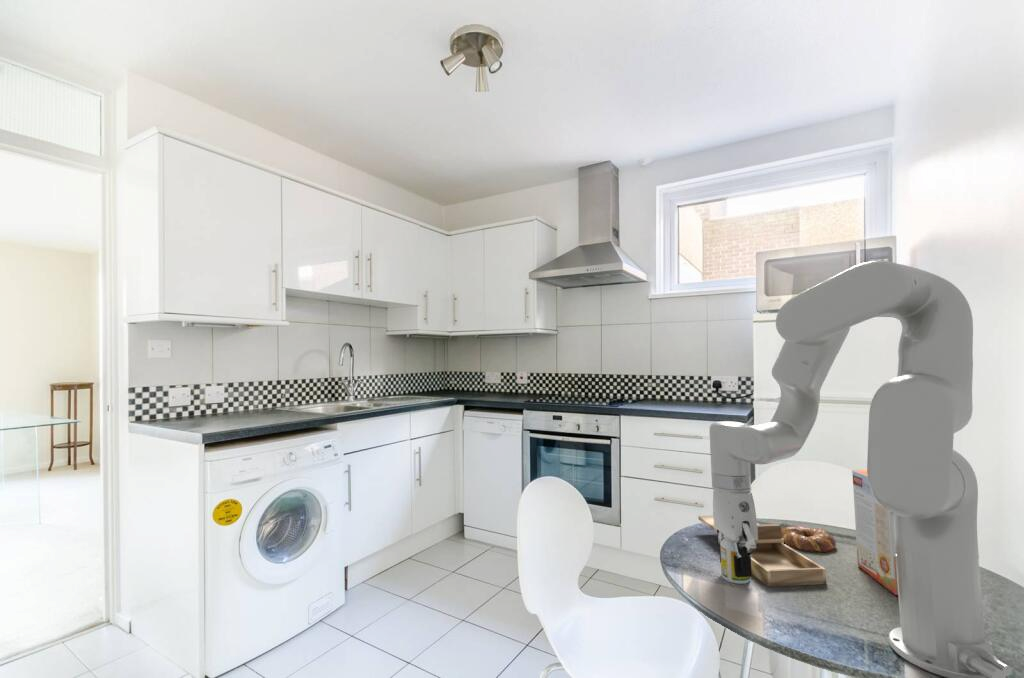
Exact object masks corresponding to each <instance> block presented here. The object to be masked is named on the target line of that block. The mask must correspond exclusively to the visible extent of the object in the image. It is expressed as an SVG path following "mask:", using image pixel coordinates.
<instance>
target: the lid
mask: <svg viewBox="0 0 1024 678" xmlns="http://www.w3.org/2000/svg"><path fill="white" fill-rule="evenodd" d="M697 518H698V520H699V521H700V522H702V523H703V524H705V526H707V527H709V528H710V529H711V530H713V531H714V532H715V533H717V529H716V527H715V525H714V519H713V515H700V516H699V515H698V517H697ZM757 529H758V540H757V541H756V542H755V543H756V544H757V543H781V542H784V539H783V538H782V534H781V530H782V525H781V524H779V523H766V524H759V523H758V522H757Z"/></svg>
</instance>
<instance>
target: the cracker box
mask: <svg viewBox="0 0 1024 678" xmlns="http://www.w3.org/2000/svg"><path fill="white" fill-rule="evenodd" d="M852 483H853V484H852V487H853V505H854V506H853V507H854V520H855V521H854V522H855V540H856V542H855V543H856V559H857V566H858V567H859V568H860V569H862V570H863V571H865V572H866V573H867V574H868V575H869V576H870V577H872V578H873V579H874V580H875V581H877V582H878V583H879V584H880V585H882V586H883V587H884V588H885V589H887V590H888V591H889V592H891V593H892V594H894V595H895V596H898V583H897V569H896V554H895V536H894V513H892V512H890V511H889V510H887V509H886V508H885V507H883V506H882V505H881V504H880V503H879V502H878V500H877V499H876V498H875V497H874V495H873V493H872V491H871V489H870V486H869V482H868V476H867V469H853V470H852Z"/></svg>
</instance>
